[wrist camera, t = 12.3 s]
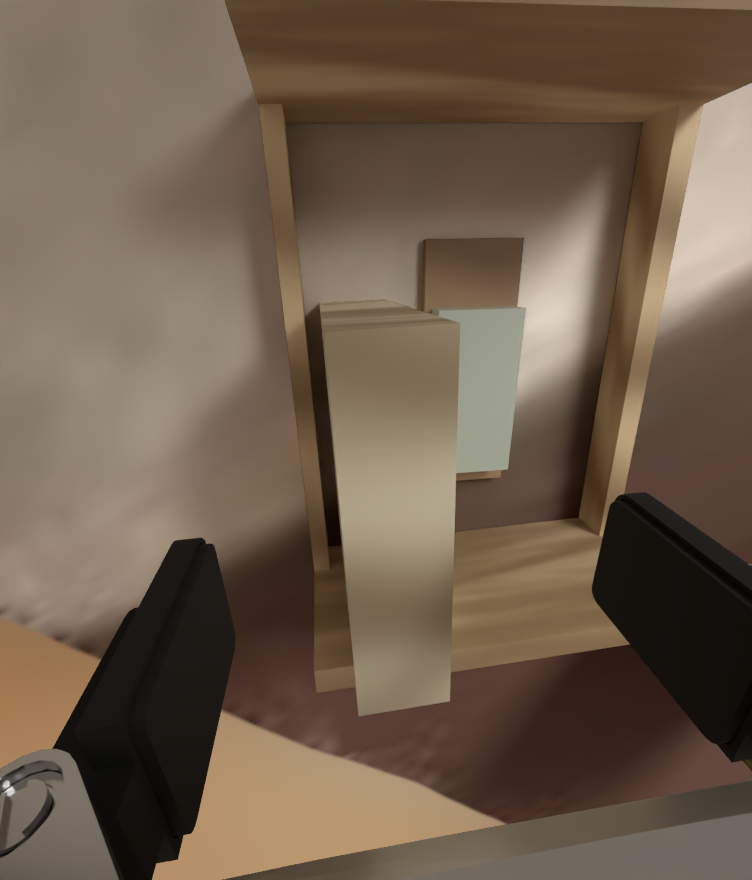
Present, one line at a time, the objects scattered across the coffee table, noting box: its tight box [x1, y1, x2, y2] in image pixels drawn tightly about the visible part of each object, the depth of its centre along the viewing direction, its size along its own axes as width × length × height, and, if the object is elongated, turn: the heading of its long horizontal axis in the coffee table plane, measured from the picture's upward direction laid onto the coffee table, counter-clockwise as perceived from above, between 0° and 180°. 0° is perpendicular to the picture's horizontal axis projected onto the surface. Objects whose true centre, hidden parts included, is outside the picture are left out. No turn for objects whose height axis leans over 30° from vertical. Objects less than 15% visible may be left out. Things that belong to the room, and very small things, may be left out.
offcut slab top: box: [432, 307, 526, 473], centre depth 20 cm, size 8×4×1 cm, turn 1°
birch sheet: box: [319, 299, 460, 716], centre depth 16 cm, size 12×3×11 cm, turn 3°
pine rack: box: [225, 0, 752, 693], centre depth 17 cm, size 22×17×8 cm
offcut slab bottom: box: [422, 238, 524, 481], centre depth 21 cm, size 12×4×1 cm, turn 1°
